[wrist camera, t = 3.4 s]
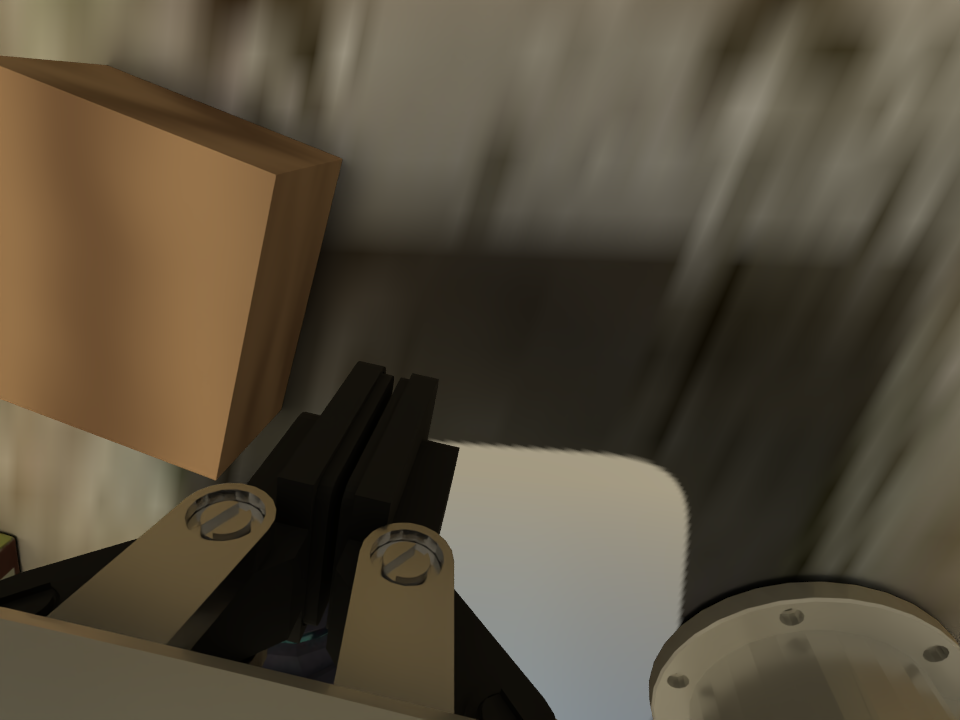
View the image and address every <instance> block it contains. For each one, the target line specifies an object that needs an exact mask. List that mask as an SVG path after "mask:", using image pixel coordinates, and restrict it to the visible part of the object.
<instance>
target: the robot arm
mask: <svg viewBox="0 0 960 720" xmlns="http://www.w3.org/2000/svg"><path fill="white" fill-rule="evenodd" d="M438 382H439V379H435V378H431V377H427V376H422V375H418V374H414V373H413V374H412V376H411V378H410V380H409V379H405V378H401V379H400V381H399V383H398V384H397V386H396V388H395V390H394V392H393V394H392V390H393V383H394V376H392V375H388V374H386V367H383V366H379V365H375V364H370V363H366V362H362V361H359V362H358V363H357V364H356V365H355V367H354V368H353V370H352V371H351V373H350V374H349V375H348V377H347V378H346V380H345V381H344V383H343V384H342V385H341V387H340V388H339V390H338V391H337V393H336V394H335V395H334V397H333V398H332V400H331V401H330V403H329V404H328V405H327V407H326V408H325V410H324V411H323V413H322V414H321V415H316V414H312V413H308V412H303V413H301V414H300V415H299V417H298V418H297V419H296V420H295V422H294V423H293V424H292V426H291V427H290V428H289V430H288V431H287V432H286V434H285V435H284V436H283V437H282V439H281V440H280V441H279V443H278V444H277V445H276V447H275V448H274V449H273V451H272V452H271V453H270V455H269V456H268V457H267V458H266V460H265V461H264V462H263V464H262V465H261V466H260V468H259V469H258V470H257V472H256V473H255V474H254V476H253V477H252V478H251V479H250V481H249V482H248V483H247V485H246V484H241V483H224V484H218V485H212V486H209V487H206V488H204V489H201V490H198V491H196V492H195V493H193V494H192V495H190V496H188V497H187V498H185V499H184V500H183V501H182V502H181V503H179V504H178V505H177V506H176V507H175V508H174V509H172V510H171V511H170V512H169V513H168V514H166V515H165V516H164V517H163V518H162V519H161V520H159V521H158V522H157V523H156V524H155V525H154V526H152V527H151V528H150V529H149V530H148V531H146V532H145V533H144V534H143V535H142V536H141V537H139V538H138V539H135V540H131V541H128V542H124V543H121V544H118V545H114V546H111V547H107V548H104V549H101V550H97V551H94V552H90V553H87V554H84V555H80V556H77V557H73V558H70V559H67V560H63V561H60V562H56V563H53V564H49V565H46V566H43V567H39V568H36V569H32V570H29V571H26V572H22V573H19V574H16V575H13V576H10V577H8V578H5V579H3V580H0V720H557V719H555V716H554V713H553V712H552V710H551V708H550V707H549V705H548V704H547V702H546V701H545V699H544V698H543V696H542V695H541V694H540V693H539V692H538V690H537V689H536V688H535V687H534V686H533V684H532V683H531V682H530V681H529V679H528V678H527V677H526V676H525V675H524V673H523V672H522V671H521V670H520V668H519V667H518V666H517V665H516V664H515V663H514V661H513V660H512V659H511V658H510V656H509V655H508V654H507V653H506V651H505V650H504V649H503V648H502V647H501V645H500V644H499V643H498V642H497V640H496V639H495V638H494V637H493V636H492V634H491V633H490V632H489V631H488V630H487V629H486V627H485V626H484V625H483V624H482V622H481V621H480V620H479V619H478V617H477V616H476V615H475V614H474V613H473V611H472V610H471V609H470V608H469V607H468V605H467V604H466V603H465V602H464V600H463V599H462V598H461V597H460V596H459V594H458V593H457V592H456V591H455V589H454V559H453V554H452V550H451V549H450V547H449V545H448V544H447V542H446V541H445V540H444V539H443V538H442V537H441V536H440V535H439V534H440V530H441V526H442V522H443V518H444V514H445V510H446V505H447V501H448V497H449V492H450V488H451V483H452V479H453V475H454V470H455V466H456V461H457V457H458V452H459V447H454V446H450V445H446V444H441V443H437V442H433V441H429V440H428V435H429V429H430V424H431V419H432V414H433V409H434V404H435V399H436V393H437V388H438ZM328 602H329V606H328V614H327V622H326V628H327V629H328V635H327V643H326V650H327V652H328V653H329V655H330V657H331V659H332V660H333V662H334V664H335V666H336V667H337V670H336V675H335V680H334V685H332V684H328V683H324V682H320V681H316V680H312V679H308V678H303V677H299V676H295V675H291V674H287V673H282V672H278V671H274V670H270V669H265V668H262V666H263V664H264V662H265V660H266V658H267V652H268V648H270V647H273V646H275V645H277V644H279V643H281V642H284V641H290V642H294V643H298V644H299V643H300V640H301V638H302V636H303V634H304V632H305V629H306V627H307V625H308V624H309V625H313V626H318V625H319V623H320V621H321V619H322V616H323V614H324V612H325V609H326V607H327V605H328ZM649 700H650V706H651V711H652V717H653V720H960V646H959V644H958V643H957V641H956V640H955V639H954V637H953V636H952V635H951V634H950V633H949V632H948V631H947V630H946V629H945V628H944V627H943V626H942V625H941V624H940V623H939V621H938V620H936V619H935V618H933V617H932V616H930V615H929V614H927V613H926V612H925V611H923V610H922V609H920V608H919V607H917V606H916V605H914V604H912V603H909V602H907V601H905V600H902V599H900V598H898V597H895V596H893V595H891V594H889V593H886V592H882V591H878V590H874V589H870V588H866V587H862V586H858V585H851V584H841V583H832V582H798V583H785V584H779V585H773V586H767V587H762V588H756V589H753V590H750V591H747V592H744V593H741V594H738V595H735V596H731V597H728V598H726V599H724V600H722V601H720V602H718V603H716V604H714V605H712V606H710V607H708V608H706V609H704V610H702V611H701V612H699V613H698V614H696V615H695V616H694V617H692V618H691V619H690V620H688V621H687V622H686V623H684V624H683V625H681V626H680V627H679V628H678V629H677V631H676V632H675V633H674V634H673V635H672V636H671V637H670V638H669V639H668V640H667V641H666V643H665V644H664V646H663V647H662V649H661V651H660V652H659V654H658V656H657V658H656V659H655V661H654V664H653V668H652V672H651V676H650V680H649Z"/></svg>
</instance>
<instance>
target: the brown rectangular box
mask: <svg viewBox="0 0 960 720" xmlns="http://www.w3.org/2000/svg"><path fill="white" fill-rule="evenodd" d="M341 163H342V158H339V157H337V156H334V155H332V154H329V153H327V152H324V151H322V150H319V149H316V148H314V147H311V146H309V145H306V144H304V143H301V142H299V141H296V140H294V139H291V138H289V137H286V136H284V135H281V134H279V133H276V132H274V131H271V130H269V129H266V128H264V127H261V126H259V125H256V124H254V123H251V122H249V121H246V120H243V119H241V118H238V117H236V116H233V115H231V114H228V113H226V112H223V111H221V110H218V109H216V108H213V107H211V106H208V105H206V104H203V103H201V102H198V101H196V100H193V99H191V98H188V97H186V96H183V95H181V94H178V93H176V92H173V91H170V90H168V89H165V88H163V87H160V86H158V85H155V84H153V83H150V82H148V81H145V80H143V79H140V78H138V77H135V76H133V75H130V74H128V73H125V72H123V71H120V70H118V69H115V68H113V67H110V66H108V65H98V64H87V63H76V62H64V61H53V60H42V59H31V58H20V57H8V56H0V399H2V400H5V401H7V402H10V403H13V404H15V405H18V406H21V407H23V408H26V409H28V410H31V411H34V412H36V413H39V414H42V415H44V416H47V417H50V418H52V419H55V420H58V421H60V422H63V423H65V424H68V425H71V426H73V427H76V428H79V429H81V430H84V431H87V432H89V433H92V434H95V435H97V436H100V437H102V438H105V439H108V440H110V441H113V442H116V443H118V444H121V445H124V446H126V447H129V448H132V449H134V450H137V451H140V452H142V453H145V454H147V455H150V456H153V457H155V458H158V459H161V460H163V461H166V462H169V463H171V464H174V465H177V466H179V467H182V468H184V469H187V470H190V471H192V472H195V473H198V474H200V475H203V476H206V477H208V478H211V479H214V480H217V479H218V477H219V476H220V475H221V474H222V473H223V472H224V471H225V470H226V469H227V468H228V467H229V466H230V464H231V463H232V462H233V461H234V460H235V459H236V458H237V457H238V456H239V455H240V454H241V453H242V451H243V450H244V449H245V448H246V447H247V446H248V445H249V444H250V443H251V442H252V441H253V440H254V438H255V437H256V436H257V435H258V434H259V433H260V432H261V431H262V430H263V429H264V428H265V427H266V425H267V424H268V423H269V422H270V421H271V420H272V419H273V418H274V417H275V416H276V415H277V414H278V413H279V411H280V410H281V408H282V404H283V400H284V396H285V392H286V388H287V384H288V380H289V376H290V372H291V367H292V363H293V359H294V355H295V351H296V347H297V343H298V339H299V335H300V331H301V327H302V323H303V318H304V314H305V310H306V306H307V302H308V298H309V294H310V290H311V286H312V282H313V278H314V274H315V270H316V265H317V261H318V257H319V253H320V249H321V245H322V241H323V237H324V233H325V229H326V225H327V221H328V216H329V212H330V208H331V204H332V200H333V196H334V192H335V188H336V184H337V180H338V176H339V172H340V167H341Z"/></svg>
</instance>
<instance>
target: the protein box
mask: <svg viewBox="0 0 960 720" xmlns="http://www.w3.org/2000/svg"><path fill="white" fill-rule="evenodd" d="M19 573H20V570H19V565H18V557H17V550H16V542H15V539H14V538H13V537H11V536H8V535H5V534H2V533H0V580H3V579H5V578H8V577H10V576H13V575H16V574H19Z"/></svg>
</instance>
